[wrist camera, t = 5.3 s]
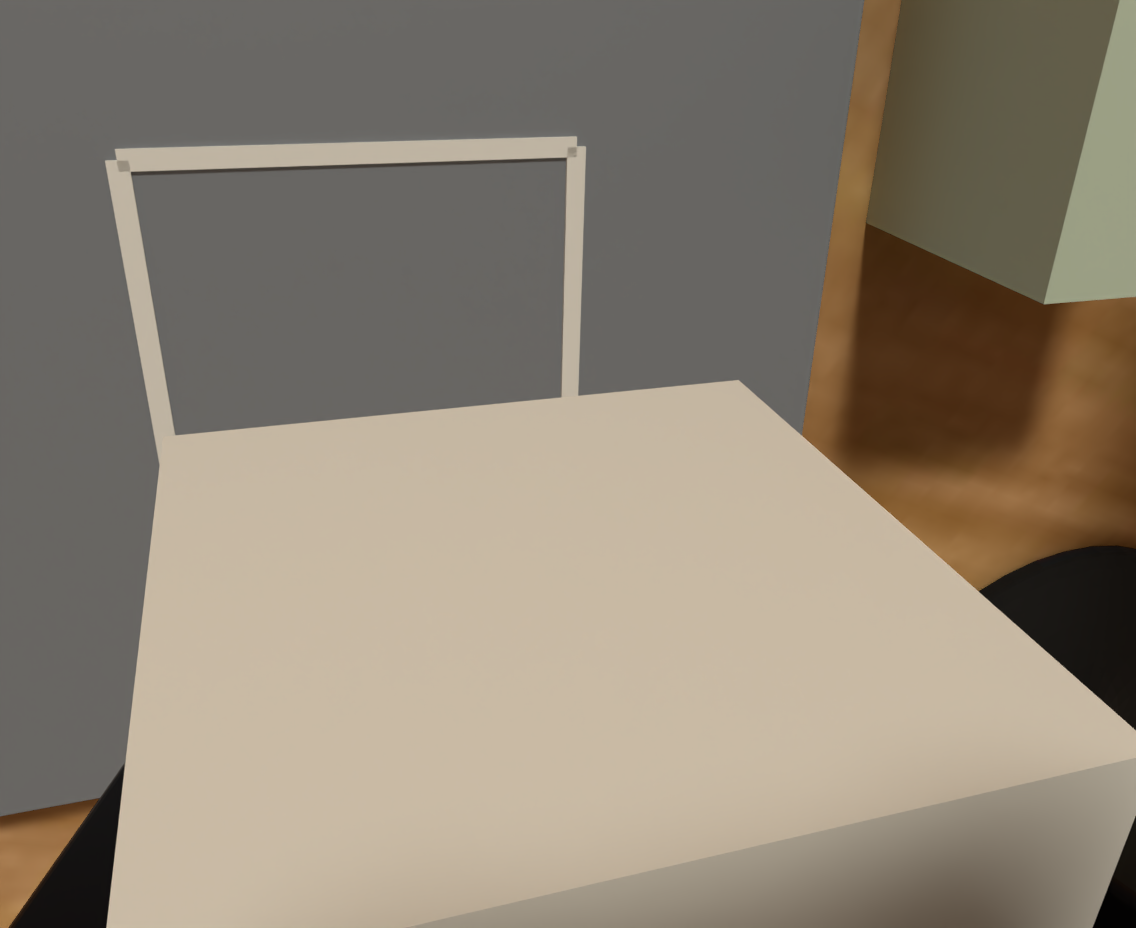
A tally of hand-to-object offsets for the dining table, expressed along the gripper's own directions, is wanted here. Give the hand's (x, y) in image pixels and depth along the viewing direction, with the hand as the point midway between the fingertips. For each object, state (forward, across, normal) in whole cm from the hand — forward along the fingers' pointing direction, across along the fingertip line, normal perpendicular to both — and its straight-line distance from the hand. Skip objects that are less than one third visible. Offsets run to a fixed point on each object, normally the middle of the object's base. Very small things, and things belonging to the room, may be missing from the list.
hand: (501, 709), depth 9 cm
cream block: (+1, 0, 0) cm, 1 cm away
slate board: (+10, 0, 0) cm, 10 cm away
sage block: (+10, -12, -4) cm, 16 cm away
